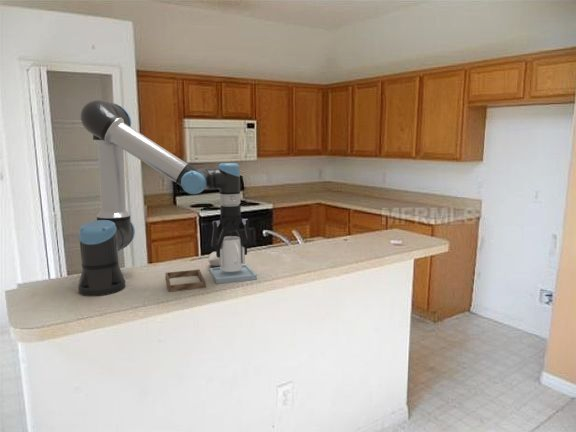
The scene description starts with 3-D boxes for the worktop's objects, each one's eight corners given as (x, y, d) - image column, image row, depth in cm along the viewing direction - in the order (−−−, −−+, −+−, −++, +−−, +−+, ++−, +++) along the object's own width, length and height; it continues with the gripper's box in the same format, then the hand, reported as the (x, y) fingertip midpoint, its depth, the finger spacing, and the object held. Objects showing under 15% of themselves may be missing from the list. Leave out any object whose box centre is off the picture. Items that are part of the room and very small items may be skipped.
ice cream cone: (207, 271, 168) (219, 267, 183) (218, 262, 167) (230, 258, 182) (198, 259, 168) (211, 256, 183) (209, 250, 168) (221, 247, 182)
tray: (216, 284, 153) (216, 279, 153) (209, 272, 167) (209, 268, 167) (256, 279, 158) (256, 274, 158) (247, 268, 172) (247, 264, 172)
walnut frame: (168, 291, 146) (168, 286, 145) (165, 277, 161) (165, 272, 161) (205, 287, 150) (205, 281, 149) (199, 274, 165) (199, 269, 165)
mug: (248, 272, 159) (247, 241, 157) (226, 275, 155) (225, 243, 153) (238, 264, 169) (237, 235, 167) (217, 267, 166) (216, 237, 164)
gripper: (203, 207, 151) (206, 269, 155) (259, 204, 158) (260, 264, 162) (201, 205, 158) (203, 264, 162) (254, 202, 165) (255, 259, 169)
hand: (232, 264), depth 162 cm, fingers closed on mug, 8 cm apart
